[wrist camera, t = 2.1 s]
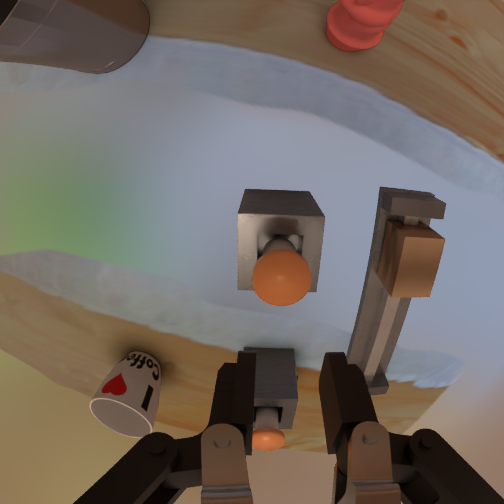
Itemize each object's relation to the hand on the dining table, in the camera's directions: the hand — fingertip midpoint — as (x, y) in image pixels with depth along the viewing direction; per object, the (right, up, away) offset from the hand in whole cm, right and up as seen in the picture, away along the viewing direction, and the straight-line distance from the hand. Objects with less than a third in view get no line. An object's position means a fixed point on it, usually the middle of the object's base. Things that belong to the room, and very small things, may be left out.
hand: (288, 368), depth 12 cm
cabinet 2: (0, -10, +25) cm, 27 cm away
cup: (-17, -11, +27) cm, 33 cm away
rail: (+14, -1, +21) cm, 25 cm away
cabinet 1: (+1, +8, +17) cm, 19 cm away
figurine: (+7, +25, +10) cm, 28 cm away
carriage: (+14, +5, +17) cm, 22 cm away
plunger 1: (0, +5, +11) cm, 12 cm away
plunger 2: (0, -13, +18) cm, 22 cm away
